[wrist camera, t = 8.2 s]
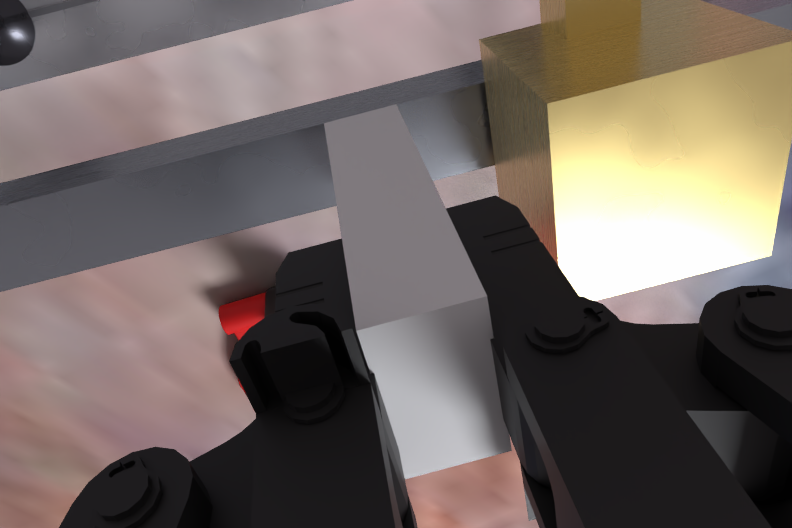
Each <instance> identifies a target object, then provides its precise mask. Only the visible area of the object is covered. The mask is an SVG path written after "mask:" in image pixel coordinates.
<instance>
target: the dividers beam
mask: <svg viewBox="0 0 792 528" xmlns="http://www.w3.org/2000/svg"><path fill="white" fill-rule="evenodd" d="M701 1H704V2H707V3H710V4H713V5H716V6H719V7H722V8H725V9H728V10H731V11H734V12H737V13H740V14H743V15H746V16H749V17H752V18H755V19H758V20H761V21H764V22H767V23H770V24H773V25H776V26H779V27H782V28H785V29H788V30H791V31H792V0H701ZM1 44H2V43H1V41H0V45H1ZM395 104H396V105H397V107H398V109H399V111H400V113H401V115H402V117H403V119H404V122H405V124H406V126H407V128H408V130H409V132H410V134H411V136H412V138H413V141H414V143H415V145H416V147H417V149H418V151H419V153H420V155H421V157H422V160H423V162H424V164H425V166H426V168H427V170H428V172H429V174H430V176H431V179H432V181H435V180H438V179H442V178H446V177H450V176H454V175H458V174H462V173H466V172H470V171H474V170H477V169H481V168H485V167H489V166H493V165H495V161H494V153H493V145H492V137H491V130H490V122H489V114H488V106H487V98H486V91H485V83H484V75H483V67H482V60H479V61H476V62H472V63H468V64H464V65H460V66H456V67H452V68H448V69H444V70H440V71H437V72H433V73H429V74H425V75H421V76H417V77H413V78H409V79H405V80H401V81H398V82H394V83H390V84H386V85H382V86H378V87H374V88H370V89H366V90H362V91H359V92H355V93H351V94H347V95H343V96H339V97H335V98H331V99H327V100H323V101H320V102H316V103H312V104H308V105H304V106H300V107H296V108H292V109H288V110H284V111H281V112H277V113H273V114H269V115H265V116H261V117H257V118H253V119H249V120H245V121H242V122H238V123H234V124H230V125H226V126H222V127H218V128H214V129H210V130H206V131H203V132H199V133H195V134H191V135H187V136H183V137H179V138H175V139H171V140H167V141H164V142H160V143H156V144H152V145H148V146H144V147H140V148H136V149H132V150H128V151H125V152H121V153H117V154H113V155H109V156H105V157H101V158H97V159H93V160H89V161H86V162H82V163H78V164H74V165H70V166H66V167H62V168H58V169H54V170H50V171H47V172H43V173H39V174H35V175H31V176H27V177H23V178H19V179H15V180H11V181H8V182H4V183H0V292H1V291H5V290H9V289H13V288H17V287H21V286H25V285H29V284H33V283H37V282H40V281H44V280H48V279H52V278H56V277H60V276H64V275H68V274H72V273H76V272H79V271H83V270H87V269H91V268H95V267H99V266H103V265H107V264H111V263H115V262H118V261H122V260H126V259H130V258H134V257H138V256H142V255H146V254H150V253H154V252H158V251H161V250H165V249H169V248H173V247H177V246H181V245H185V244H189V243H193V242H197V241H200V240H204V239H208V238H212V237H216V236H220V235H224V234H228V233H232V232H236V231H239V230H243V229H247V228H251V227H255V226H259V225H263V224H267V223H271V222H275V221H278V220H282V219H286V218H290V217H294V216H298V215H302V214H306V213H310V212H314V211H317V210H321V209H325V208H329V207H333V206H337V204H336V198H335V191H334V185H333V178H332V172H331V165H330V159H329V152H328V146H327V140H326V133H325V127H324V123H327V122H331V121H334V120H338V119H342V118H346V117H350V116H353V115H357V114H361V113H365V112H369V111H372V110H376V109H380V108H384V107H388V106H391V105H395Z"/></svg>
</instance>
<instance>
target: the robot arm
mask: <svg viewBox="0 0 792 528" xmlns="http://www.w3.org/2000/svg"><path fill="white" fill-rule="evenodd" d="M324 127H325V133H326V140H327V146H328V152H329V159H330V165H331V172H332V178H333V185H334V191H335V198H336V204H337V210H338V217H339V223H340V230H341V236H342V239H338V240H335V241H331V242H327V243H323V244H320V245H316V246H312V247H308V248H305V249H301V250H297V251H293V252H289V253H288V255H287V256H286V258H285V259H284V261H283V263H282V264H281V266H280V268H279V269H278V271H277V273H276V297H277V298H275V312H276V313H273V314H270V315H268V316H267V317H265V318H264V319H262V320H261V321H259V322H258V323H256V324H255V325H253V326H252V327H251V328H249V329H248V330H247V332H246V333H245V334H244V335H243V336H242V337H241V339H240V340H239V341H238V342H237V343H236V345H235V347H234V350H233V353H232V355H231V358H230V361H229V362H230V364H231V366H232V368H233V369H234V371H235V373H236V375H237V377H238V379H239V381H240V383H241V385H242V387H243V389H244V391H245V393H246V395H247V397H248V399H249V401H250V403H251V405H252V407H253V409H254V411H255V413H256V419H255V420H254V421H253V422H252V423H251V424H250V425H249V426H247V427H246V428H245V429H244V430H243V431H242V432H240V433H239V434H237V435H236V436H234V437H233V438H231V439H230V440H228V441H227V442H225V443H223V444H221V445H220V446H218V447H216V448H214V449H212V450H210V451H209V452H207V453H205V454H203V455H201V456H199V457H198V458H196V459H194V460H192V461H190V462H189V461H188V459H187V458H185V457H184V456H183V455H181V454H180V453H179V452H177V451H176V450H175V449H168V448H160V447H153V448H149V449H144V450H140V451H136V452H132V453H130V454H128V455H127V456H125V457H123V458H121V459H119V460H117V461H115V462H113V463H111V464H110V465H108V466H107V467H106V468H105V469H104V470H103V471H101V472H100V473H99V474H98V475H97V476H95V477H94V478H93V479H92V480H91V481H90V482H88V484H87V485H86V486H85V488H84V489H83V490H82V492H81V493H80V494H79V496H78V497H77V498H76V500H75V501H74V502H73V504H72V506H71V507H70V509H69V511H68V513H67V514H66V516H65V518H64V520H63V522H62V523H61V525H60V527H59V528H417V523H416V518H415V514H414V511H413V508H412V505H411V502H410V499H409V496H408V493H407V488H406V483H405V479H408V478H412V477H416V476H419V475H423V474H427V473H431V472H434V471H438V470H442V469H445V468H449V467H453V466H457V465H460V464H464V463H468V462H471V461H475V460H479V459H482V458H486V457H490V456H494V455H497V454H501V453H505V452H508V451H512V450H511V443H510V437H511V440H512V442H513V445H514V447H515V450H516V452H517V455H518V457H519V460H520V464H521V471H522V477H523V484H524V491H525V498H526V504H527V511H528V518H529V521H530V520H534V519H536V520H537V522H538V525H539V528H792V289H787V288H781V287H775V286H770V285H759V286H740V287H737V288H734V289H730V290H727V291H724V292H720V293H719V294H717V295H716V296H715V297H713V298H712V299H711V300H710V301H708V302H707V303H706V304H705V306H704V308H703V311H702V314H701V316H700V320H699V323H693V324H656V325H652V324H634V323H629V322H624V321H620V320H619V319H618V318H617V316H616V315H614V314H613V313H612V312H611V311H610V310H609V309H608V308H606V307H605V306H604V305H603V304H601V303H598V302H596V301H593V300H591V299H588V298H586V297H583V296H579V295H578V294H577V292H576V291H575V289H574V288H573V286H572V285H571V283H570V282H569V281H568V279H567V278H566V276H565V275H564V273H563V272H562V270H561V269H560V267H559V266H558V265H557V263H556V262H555V260H554V259H553V257H552V256H551V254H550V253H549V251H548V250H547V249H546V247H545V246H544V244H543V243H542V242H540V239H539V237H538V235H537V234H536V233H535V231H534V230H533V228H531V227H530V224H529V222H528V221H527V220H526V218H525V217H524V215H523V214H522V212H521V211H520V209H519V208H518V207H517V206H515V205H513V204H511V203H509V202H507V201H505V200H503V199H501V198H499V197H497V196H492V197H488V198H485V199H481V200H477V201H473V202H469V203H466V204H462V205H458V206H454V207H451V208H447V209H446V208H445V206H444V204H443V202H442V200H441V198H440V195H439V193H438V191H437V189H436V187H435V185H434V183H433V181H432V179H431V176H430V174H429V172H428V170H427V168H426V166H425V164H424V162H423V160H422V157H421V155H420V153H419V151H418V149H417V147H416V145H415V143H414V141H413V138H412V136H411V134H410V132H409V130H408V128H407V126H406V124H405V122H404V119H403V117H402V115H401V113H400V111H399V109H398V107H397V105H396V104H395V105H391V106H388V107H384V108H380V109H376V110H372V111H369V112H365V113H361V114H357V115H353V116H350V117H346V118H342V119H338V120H334V121H331V122H327V123H324ZM509 435H510V437H509ZM404 477H405V478H404Z"/></svg>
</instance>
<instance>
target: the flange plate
mask: <svg viewBox="0 0 792 528" xmlns="http://www.w3.org/2000/svg"><path fill="white" fill-rule="evenodd" d="M348 1H352V0H0V41H1V43H2V44H1V45H0V91H1V90H5V89H9V88H13V87H17V86H21V85H25V84H29V83H33V82H36V81H40V80H44V79H48V78H52V77H56V76H60V75H64V74H68V73H72V72H75V71H79V70H83V69H87V68H91V67H95V66H99V65H103V64H107V63H110V62H114V61H118V60H122V59H126V58H130V57H134V56H138V55H142V54H146V53H149V52H153V51H157V50H161V49H165V48H169V47H173V46H177V45H181V44H185V43H188V42H192V41H196V40H200V39H204V38H208V37H212V36H216V35H220V34H224V33H227V32H231V31H235V30H239V29H243V28H247V27H251V26H255V25H259V24H262V23H266V22H270V21H274V20H278V19H282V18H286V17H290V16H294V15H298V14H301V13H305V12H309V11H313V10H317V9H321V8H325V7H329V6H333V5H337V4H340V3H344V2H348Z"/></svg>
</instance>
